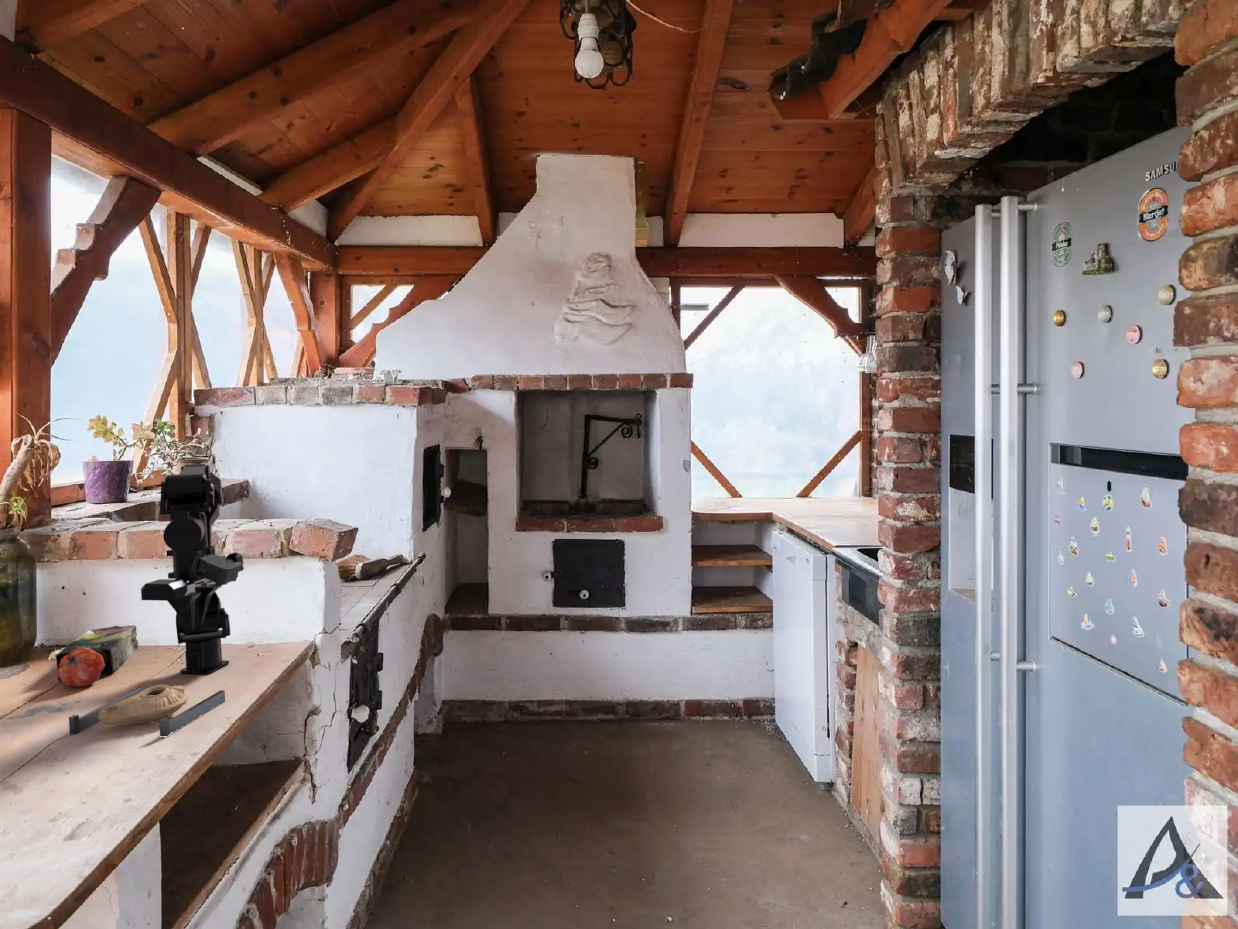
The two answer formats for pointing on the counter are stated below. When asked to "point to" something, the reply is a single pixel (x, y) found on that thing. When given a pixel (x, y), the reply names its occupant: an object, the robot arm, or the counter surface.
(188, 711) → the steel chute
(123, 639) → the juice carton
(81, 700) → the counter surface
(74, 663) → the red round fruit
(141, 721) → the pottery oil lamp
